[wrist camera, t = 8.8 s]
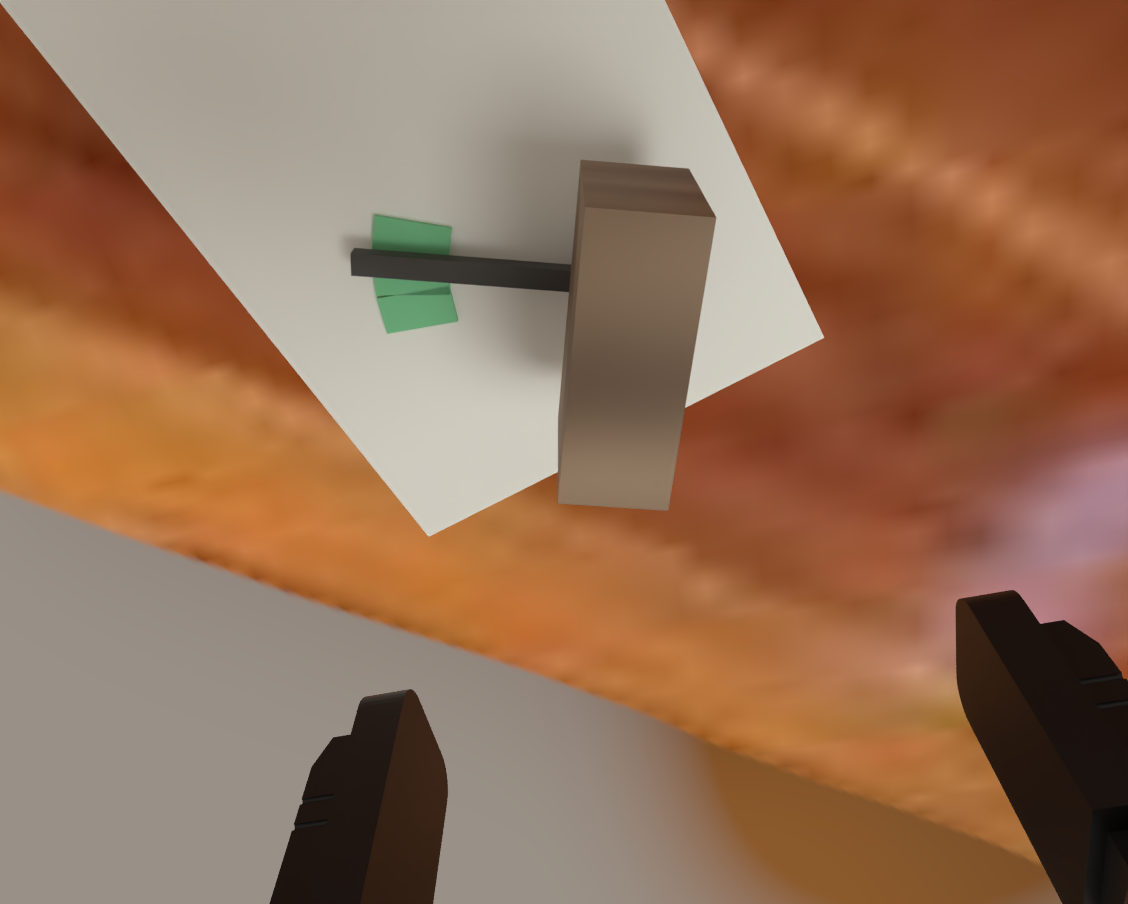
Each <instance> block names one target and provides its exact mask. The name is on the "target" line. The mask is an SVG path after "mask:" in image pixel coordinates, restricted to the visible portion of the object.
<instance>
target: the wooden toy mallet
mask: <svg viewBox="0 0 1128 904" xmlns="http://www.w3.org/2000/svg"><path fill="white" fill-rule="evenodd" d="M715 223H716V216H715V214H714V212H713V211H712V209H711V207H710V205H709V203H708V202H707V200H706V198H705V196H704V195H703V193H702V191H701V189H700V187H699V186H698V184H697V182H696V180H695V178H694V177H693V175H692V173H691V171H690V170H689V169H688V168H676V167H664V166H652V165H640V164H628V163H615V162H603V161H591V160H581V161H580V172H579V184H578V195H577V206H576V218H575V229H574V241H573V252H572V263H571V264H558V263H545V262H532V261H519V260H506V259H493V258H480V257H467V256H454V255H441V254H428V253H415V252H402V251H389V250H377V249H364V248H354V249H353V250H352V252H351V253H350V257H351V276H361V277H375V278H388V279H401V280H414V281H427V282H441V283H454V284H467V285H480V286H493V287H506V288H520V289H533V290H546V291H559V292H569V298H568V309H567V320H566V332H565V343H564V355H563V366H562V378H561V389H560V400H559V412H558V503H559V504H574V505H590V506H605V507H620V508H636V509H651V510H666V511H668V508H669V502H670V495H671V489H672V483H673V477H674V471H675V465H676V459H677V453H678V447H679V441H680V435H681V429H682V423H683V417H684V411H685V405H686V399H687V393H688V387H689V381H690V375H691V369H692V363H693V356H694V350H695V344H696V338H697V332H698V326H699V320H700V314H701V308H702V302H703V296H704V290H705V284H706V278H707V272H708V266H709V260H710V254H711V248H712V242H713V236H714V230H715Z"/></svg>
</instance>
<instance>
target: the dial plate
mask: <svg viewBox="0 0 1128 904" xmlns="http://www.w3.org/2000/svg"><path fill="white" fill-rule="evenodd" d="M0 3H1V5H2V6H3V7H4V8H5V9H6V11H7V12H8V13H9V14H10V16H11V17H12V18H13V19H14V21H15V22H16V23H17V24H18V26H19V27H20V28H21V29H22V31H23V32H24V33H25V34H26V36H27V37H28V38H29V39H30V41H31V42H32V43H33V44H34V46H35V47H36V48H37V49H38V51H39V52H40V53H41V54H42V56H43V57H44V58H45V59H46V61H47V62H48V63H49V64H50V66H51V67H52V68H53V69H54V71H55V72H56V73H57V74H58V76H59V77H60V78H61V79H62V80H63V82H64V83H65V84H66V85H67V87H68V88H69V89H70V90H71V92H72V93H73V94H74V95H75V97H76V98H77V99H78V100H79V102H80V103H81V104H82V105H83V107H84V108H85V109H86V110H87V112H88V113H89V114H90V115H91V117H92V118H93V119H94V120H95V122H96V123H97V124H98V125H99V127H100V128H101V129H102V130H103V132H104V133H105V134H106V135H107V137H108V138H109V139H110V140H111V142H112V143H113V144H114V145H115V147H116V148H117V149H118V150H119V151H120V153H121V154H122V155H123V156H124V158H125V159H126V160H127V161H128V163H129V164H130V165H131V166H132V168H133V169H134V170H135V171H136V173H137V174H138V175H139V176H140V178H141V179H142V180H143V181H144V183H145V184H146V185H147V186H148V188H149V189H150V190H151V191H152V193H153V194H154V195H155V196H156V198H157V199H158V200H159V201H160V203H161V204H162V205H163V206H164V208H165V209H166V210H167V211H168V213H169V214H170V215H171V216H172V218H173V219H174V220H175V221H176V222H177V224H178V225H179V226H180V227H181V229H182V230H183V231H184V232H185V234H186V235H187V236H188V237H189V239H190V240H191V241H192V242H193V244H194V245H195V246H196V247H197V249H198V250H199V251H200V252H201V254H202V255H203V256H204V257H205V259H206V260H207V261H208V262H209V264H210V265H211V266H212V267H213V269H214V270H215V271H216V272H217V274H218V275H219V276H220V277H221V279H222V280H223V281H224V282H225V284H226V285H227V286H228V287H229V289H230V290H231V291H232V292H233V293H234V295H235V296H236V297H237V298H238V300H239V301H240V302H241V303H242V305H243V306H244V307H245V308H246V310H247V311H248V312H249V313H250V315H251V316H252V317H253V318H254V320H255V321H256V322H257V323H258V325H259V326H260V327H261V328H262V330H263V331H264V332H265V333H266V335H267V336H268V337H269V338H270V340H271V341H272V342H273V343H274V345H275V346H276V347H277V348H278V350H279V351H280V352H281V353H282V355H283V356H284V357H285V358H286V360H287V361H288V362H289V363H290V364H291V366H292V367H293V368H294V369H295V371H296V372H297V373H298V374H299V376H300V377H301V378H302V379H303V381H304V382H305V383H306V384H307V386H308V387H309V388H310V389H311V391H312V392H313V393H314V394H315V396H316V397H317V398H318V399H319V401H320V402H321V403H322V404H323V406H324V407H325V408H326V409H327V411H328V412H329V413H330V414H331V416H332V417H333V418H334V419H335V421H336V422H337V423H338V424H339V426H340V427H341V428H342V429H343V431H344V432H345V433H346V434H347V435H348V437H349V438H350V439H351V440H352V442H353V443H354V444H355V445H356V447H357V448H358V449H359V450H360V452H361V453H362V454H363V455H364V457H365V458H366V459H367V460H368V462H369V463H370V464H371V465H372V467H373V468H374V469H375V470H376V472H377V473H378V474H379V475H380V477H381V478H382V479H383V480H384V482H385V483H386V484H387V485H388V487H389V488H390V489H391V490H392V492H393V493H394V494H395V495H396V497H397V498H398V499H399V500H400V501H401V503H402V504H403V505H404V506H405V508H406V509H407V510H408V511H409V513H410V514H411V515H412V516H413V518H414V519H415V520H416V521H417V523H418V524H419V525H420V526H421V528H422V529H423V530H424V531H425V533H426V534H427V535H428V536H431V535H433V534H435V533H437V532H439V531H441V530H443V529H445V528H447V527H449V526H451V525H453V524H455V523H457V522H459V521H461V520H463V519H465V518H467V517H469V516H471V515H473V514H475V513H477V512H479V511H481V510H483V509H485V508H487V507H489V506H491V505H493V504H495V503H497V502H499V501H501V500H503V499H505V498H507V497H509V496H511V495H513V494H515V493H517V492H519V491H521V490H523V489H525V488H527V487H529V486H531V485H533V484H535V483H537V482H538V481H540V480H542V479H544V478H546V477H548V476H550V475H552V474H554V473H556V472H558V412H559V400H560V389H561V378H562V366H563V355H564V343H565V332H566V320H567V309H568V298H569V292H559V291H546V290H533V289H520V288H506V287H493V286H480V285H467V284H454V283H441V282H427V281H414V280H401V279H388V278H375V277H361V276H351V257H350V253H351V252H352V250H353V249H354V248H364V249H377V250H389V251H402V252H415V253H428V254H441V255H454V256H467V257H480V258H493V259H506V260H519V261H532V262H545V263H558V264H571V263H572V252H573V241H574V229H575V218H576V206H577V195H578V184H579V172H580V161H581V160H591V161H603V162H615V163H628V164H640V165H652V166H664V167H676V168H688V169H689V170H690V171H691V173H692V175H693V177H694V178H695V180H696V182H697V184H698V186H699V187H700V189H701V191H702V193H703V195H704V196H705V198H706V200H707V202H708V203H709V205H710V207H711V209H712V211H713V212H714V214H715V216H716V223H715V230H714V236H713V242H712V248H711V254H710V260H709V266H708V272H707V278H706V284H705V290H704V296H703V302H702V308H701V314H700V320H699V326H698V332H697V338H696V344H695V350H694V356H693V363H692V369H691V375H690V381H689V387H688V393H687V399H686V405H685V407H687V406H689V405H691V404H693V403H695V402H697V401H699V400H701V399H703V398H705V397H707V396H709V395H711V394H713V393H715V392H717V391H719V390H721V389H723V388H725V387H727V386H729V385H731V384H733V383H735V382H737V381H739V380H741V379H743V378H745V377H747V376H749V375H751V374H753V373H755V372H757V371H759V370H761V369H763V368H765V367H767V366H769V365H771V364H773V363H775V362H777V361H779V360H781V359H783V358H785V357H787V356H789V355H791V354H793V353H795V352H797V351H799V350H801V349H803V348H805V347H807V346H809V345H811V344H813V343H815V342H817V341H819V340H821V339H823V338H824V336H823V334H822V332H821V330H820V328H819V326H818V324H817V321H816V319H815V317H814V315H813V313H812V311H811V309H810V307H809V305H808V302H807V300H806V298H805V296H804V294H803V292H802V290H801V288H800V285H799V283H798V281H797V279H796V277H795V275H794V273H793V271H792V269H791V266H790V264H789V262H788V260H787V258H786V256H785V254H784V252H783V249H782V247H781V245H780V243H779V241H778V239H777V237H776V235H775V233H774V230H773V228H772V226H771V224H770V222H769V220H768V218H767V216H766V213H765V211H764V209H763V207H762V205H761V203H760V201H759V199H758V197H757V194H756V192H755V190H754V188H753V186H752V184H751V182H750V180H749V177H748V175H747V173H746V171H745V169H744V167H743V165H742V163H741V161H740V158H739V156H738V154H737V152H736V150H735V148H734V146H733V144H732V142H731V139H730V137H729V135H728V133H727V131H726V129H725V127H724V125H723V122H722V120H721V118H720V116H719V114H718V112H717V110H716V108H715V106H714V103H713V101H712V99H711V97H710V95H709V93H708V91H707V89H706V86H705V84H704V82H703V80H702V78H701V76H700V74H699V72H698V70H697V67H696V65H695V63H694V61H693V59H692V57H691V55H690V53H689V50H688V48H687V46H686V44H685V42H684V40H683V38H682V36H681V34H680V31H679V29H678V27H677V25H676V23H675V21H674V19H673V17H672V14H671V12H670V10H669V8H668V6H667V4H666V2H665V0H0Z"/></svg>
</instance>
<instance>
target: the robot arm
mask: <svg viewBox="0 0 1128 904" xmlns="http://www.w3.org/2000/svg"><path fill="white" fill-rule="evenodd" d="M956 674H957V685H958V691H959V695H960V699H961V703H962V706H963V709H964V712H965V714H966V717H967V719H968V721H969V723H970V725H971V727H972V729H973V731H974V733H975V735H976V737H977V739H978V741H979V743H980V745H981V747H982V749H983V751H984V752H985V754H986V756H987V758H988V760H989V762H990V764H991V766H992V768H993V770H994V772H995V774H996V776H997V778H998V780H999V782H1000V783H1001V785H1002V787H1003V789H1004V791H1005V793H1006V795H1007V797H1008V799H1009V801H1010V803H1011V805H1012V807H1013V809H1014V811H1015V813H1016V815H1017V816H1018V818H1019V820H1020V822H1021V824H1022V826H1023V828H1024V830H1025V832H1026V834H1027V836H1028V838H1029V840H1030V842H1031V844H1032V846H1033V847H1034V849H1035V851H1036V853H1037V855H1038V857H1039V859H1040V861H1041V863H1042V865H1043V867H1044V869H1045V871H1046V873H1047V875H1048V877H1049V878H1050V880H1051V882H1052V884H1053V886H1054V888H1055V890H1056V892H1057V894H1058V896H1059V898H1060V900H1061V902H1062V904H1128V681H1127V679H1123V677H1122V673H1121V671H1120V670H1119V669H1118V667H1117V666H1116V665H1115V663H1114V662H1113V661H1112V659H1111V658H1110V657H1109V656H1108V654H1107V653H1106V652H1105V650H1104V649H1103V648H1102V646H1101V645H1100V644H1099V643H1098V642H1096V641H1095V640H1093V639H1092V638H1090V637H1089V636H1087V635H1086V634H1084V633H1083V632H1081V631H1080V630H1078V629H1077V628H1075V627H1074V626H1072V625H1071V624H1069V623H1068V622H1066V621H1065V620H1062V621H1056V622H1050V623H1044V624H1040V623H1039V622H1038V620H1037V619H1036V617H1035V616H1034V614H1033V613H1032V612H1031V610H1030V609H1029V607H1028V606H1027V604H1026V603H1025V601H1024V600H1023V599H1022V597H1021V596H1020V595H1019V594H1018V593H1017V592H1016V591H1014V590H1010V591H1004V592H998V593H992V594H986V595H980V596H974V597H968V598H962V599H959V600H958V601H957V603H956ZM447 797H448V784H447V773H446V768H445V763H444V759H443V757H442V754H441V751H440V749H439V747H438V744H437V742H436V740H435V737H434V735H433V732H432V730H431V727H430V725H429V722H428V720H427V718H426V715H425V713H424V710H423V708H422V705H421V703H420V701H419V698H418V696H417V695H416V693H415V692H414V691H413V690H411V689H409V690H403V691H397V692H391V693H385V694H379V695H374V696H367V697H364V698H363V699H362V700H361V701H360V704H359V706H358V710H357V715H356V717H355V721H354V725H353V728H352V732H351V735H346V736H340V737H334V738H332V740H331V741H330V743H329V744H328V745H327V747H326V748H325V750H324V751H323V752H322V754H321V755H320V756H319V758H318V759H317V760H316V762H315V763H314V765H313V766H312V768H311V771H310V774H309V778H308V781H307V784H306V787H305V791H304V793H303V797H302V800H303V804H302V805H300V806H299V810H298V813H297V817H296V820H295V823H294V825H295V830H294V831H292V832H291V836H290V839H289V842H288V845H287V849H286V852H285V855H284V858H283V862H282V865H281V868H280V871H279V875H278V878H277V881H276V885H275V888H274V891H273V894H272V897H271V901H270V904H433V900H434V892H435V886H436V878H437V871H438V863H439V856H440V849H441V842H442V835H443V828H444V820H445V813H446V806H447Z"/></svg>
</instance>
